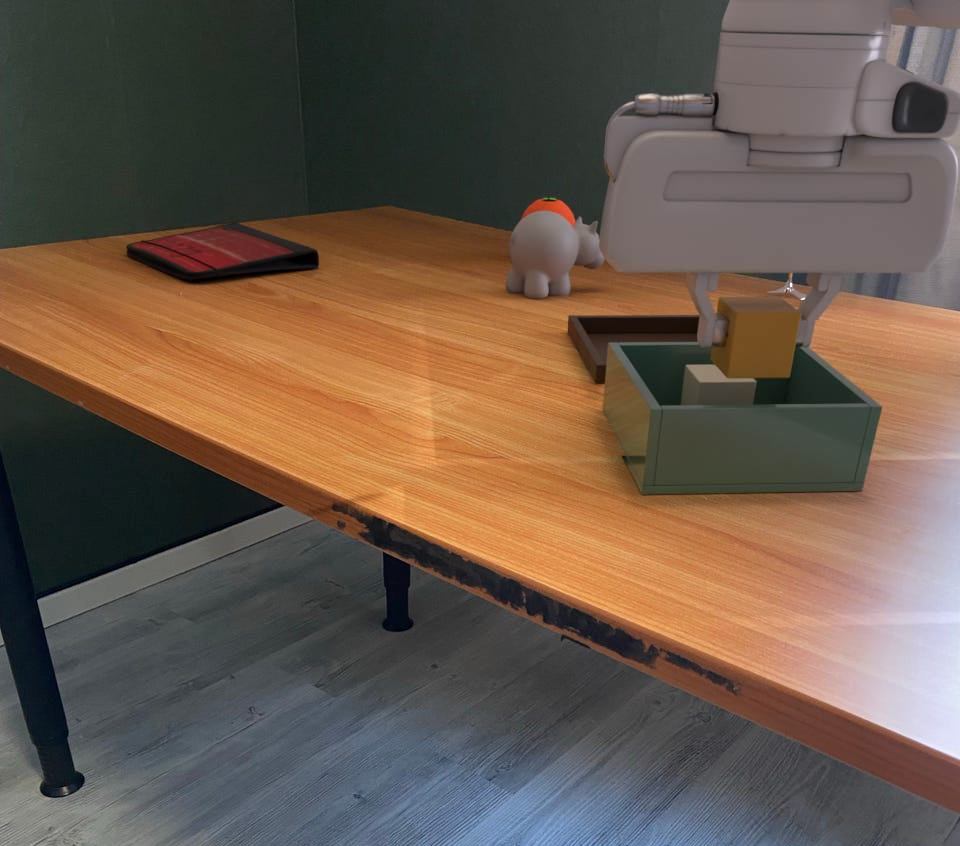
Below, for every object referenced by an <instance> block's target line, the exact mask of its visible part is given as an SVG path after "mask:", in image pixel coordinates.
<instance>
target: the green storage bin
mask: <svg viewBox="0 0 960 846" xmlns="http://www.w3.org/2000/svg"><path fill="white" fill-rule="evenodd" d="M711 350H712V348H702V347H701V346H700V345H699V344H698V342H619V343H617V342H609V343H608V351H607V363H606V375H605V384H604V388H603V400H602V412H603V414H604V416H605V418H606V419H607V422H608V424H609V425H610V427H611V429H612V431H613V433H614V435H615V436H616V439H617V441H618V442H619V445H620V446H621V448H622V451H623V452H624V454H625V455H622V457H621V458H622V459H623V460H624V463H625V465H626V467H627V468H628V471H629V473H630V474H631V476H632V478H633V480H634V481H635V484H636V486H637V489H638V490H639V492H640V494H641V495H645V496H646V495H647V496H648V495H698V494H699V495H702V494H704V495H705V494H707V495H708V494H759V493H764V494H765V493H766V494H767V493H817V492H818V493H821V492H822V493H823V492H825V493H826V492H829V493H830V492H862V491H863V490H864V485H865V482H866V477H867V473H868V469H869V465H870V461H871V456H872V452H873V447H874V444H875V439H876V435H877V431H878V426H879V422H880V418H881V414H882V411H883V410H882V409H883V406H882V405H881V404H880V403H878V402H877V401H876V400H874V398H872V397H871V396H869V394H867V393H866V392H865V391H864V390H862V389H861V388H860V387H858V386H857V385H856V384H855V383H853V382H852V381H851V380H850V379H848V378H847V377H846V376H845V375H844V374H842V373H841V372H840V371H839V370H838V369H836V368H835V366H833V365H831V364H830V363H829V362H828V361H826V359H824V358H823V357H821V356H820V355H819V354H818V353H817V352H815V351H814V350H813V349H812V348H810V346H809V347H795V351H794V356H793V362H792V367H791V372H790V377H789V378H753V379H754V380H755V381H756V388H755V394H754V400H753V405H681V397H682V389H683V381H684V373H685V366H686V365H715V364H714V363H713V362H712V361H711V360H710V357H711Z"/></svg>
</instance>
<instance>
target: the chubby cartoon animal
mask: <svg viewBox="0 0 960 846" xmlns="http://www.w3.org/2000/svg"><path fill="white" fill-rule="evenodd" d="M575 221H576V223H575V225H574V226H572V225H571V224H570V223H569V222H568V220H566V219H565V218H564V217H563V216H561V215H559V214H557V213H555V212H551V211H537V212H534V213H531V214H529V215H527V216H526V217H524V218H523V219H522V220H521V219H520V221H519V222H518V223H517V224H516V225H515V227H514V229H513V231H512V233H511V236H510V239H509V243H508V245H509V246H508V249H509V250H508V251H509V253H508V254H509V258H510V262H511V268H510V270H509V271H508V272H507V273H508V274H507V275H506V276H507V277H506V280H505V286H504V287H505V291H506V292H507V293H509V294H524V296H525V298H527V299H531V300H542V299H545V298H547V297H548V296H555V297H564V296H569V295H570V294H571V280H570V275H569V273H570V272H571V270H572V269H573V267H574V266H578V267H579V266H581V267H582V266H583V267H585V268H586V269H588V270H596V269H599V268H600V267H602V265H603V264H604V262H605V261H606V260H605V258H604V257H603V255H602V253H601V251H600V247H599V239H600V234H598V232H597V228H598V223H599V222H598V220H595V221H593V222H592V223H591V224H590V225H588V224H585V223H583V218H582V217H581V216H578V217H577V219H575Z"/></svg>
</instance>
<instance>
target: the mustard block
mask: <svg viewBox="0 0 960 846" xmlns="http://www.w3.org/2000/svg"><path fill="white" fill-rule="evenodd" d="M717 301H718V302H717V308H716V313H722V314H723V315H724V316H725V317H727V318H728V319H729V320H730V322H729V329H728V333H727V334H726V336H727V342H726V345H725V347H714V348H712V350H711V357H710V360H711V361H712V362H713V363H714V364H715V365H716V366H717V368H718V369H719V370H720V371H721V372H722V373H723V374H724V375H725V376H726V377H727V378H789V377H790V372H791V367H792V362H793V356H794V351H795V345H796V340H797V334H798V329H799V324H800V318H801V312H799V311H798V310H797V309H798V308H797V309H796V308H795V307H794V306H793V305H791V304H790V303H788V301H786V300H784V299H783V298H782V297H781V296H719V297H718V300H717Z"/></svg>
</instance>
